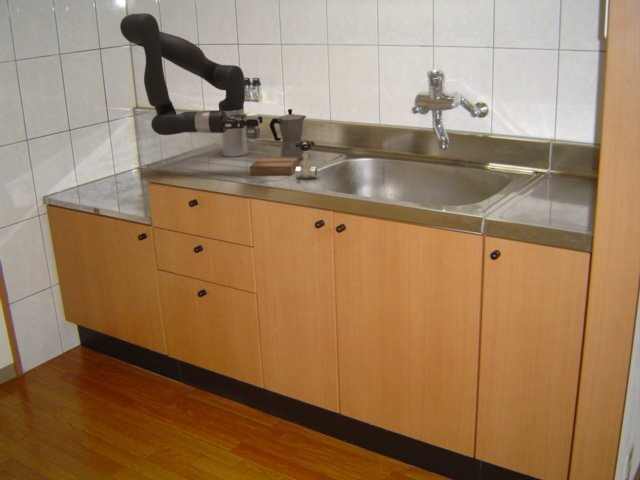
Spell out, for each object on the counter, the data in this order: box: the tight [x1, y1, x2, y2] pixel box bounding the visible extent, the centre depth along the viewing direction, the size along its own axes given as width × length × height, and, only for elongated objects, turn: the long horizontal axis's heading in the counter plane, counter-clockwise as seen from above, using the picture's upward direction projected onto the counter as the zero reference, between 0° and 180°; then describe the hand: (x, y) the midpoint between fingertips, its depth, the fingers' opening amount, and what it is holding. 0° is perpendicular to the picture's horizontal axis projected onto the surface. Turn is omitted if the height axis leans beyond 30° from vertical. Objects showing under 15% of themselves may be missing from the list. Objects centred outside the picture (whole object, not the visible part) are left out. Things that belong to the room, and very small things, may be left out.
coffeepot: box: [268, 108, 307, 161], centre depth 265 cm, size 15×9×18 cm, turn 125°
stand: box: [249, 156, 300, 177], centre depth 252 cm, size 14×14×3 cm
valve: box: [294, 140, 318, 180], centre depth 238 cm, size 7×7×12 cm
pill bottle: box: [245, 112, 261, 142], centre depth 245 cm, size 5×5×8 cm
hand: (260, 121), depth 244 cm, fingers closed on pill bottle, 4 cm apart
